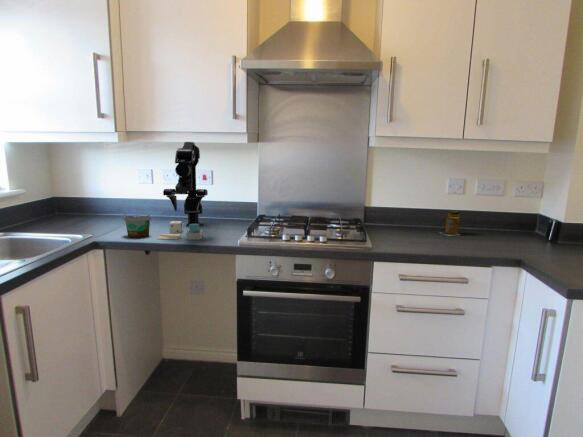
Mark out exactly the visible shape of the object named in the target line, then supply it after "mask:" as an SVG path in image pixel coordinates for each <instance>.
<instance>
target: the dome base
mask: <svg viewBox="0 0 583 437" xmlns="http://www.w3.org/2000/svg"><path fill="white" fill-rule="evenodd" d="M185 234H186V236H185V238H186V240H201V239H202V238H203V229H199V233H189V229H187V231H186V233H185Z"/></svg>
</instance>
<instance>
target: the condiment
mask: <svg viewBox="0 0 583 437" xmlns="http://www.w3.org/2000/svg"><path fill="white" fill-rule="evenodd" d="M445 222H446V224H445V230H444V231H438V233H439V234H441V235H445V236H448V237H449V236H450V237H453V236H461V235H462V234H461V233H459V225H460V212H459V211H458V210H448V213H447V216H446V220H445Z"/></svg>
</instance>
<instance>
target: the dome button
mask: <svg viewBox="0 0 583 437" xmlns="http://www.w3.org/2000/svg"><path fill="white" fill-rule="evenodd" d="M188 227H189V228H188V230H189V233H199V230H200V225H199V224H189V226H188Z"/></svg>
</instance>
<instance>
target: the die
mask: <svg viewBox="0 0 583 437" xmlns="http://www.w3.org/2000/svg"><path fill="white" fill-rule="evenodd" d="M168 224H169V227H168V228H169V234H182V232H183V222H182V221H181V220H173V221H172V220H171V221H170V222H169V223H168Z"/></svg>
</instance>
